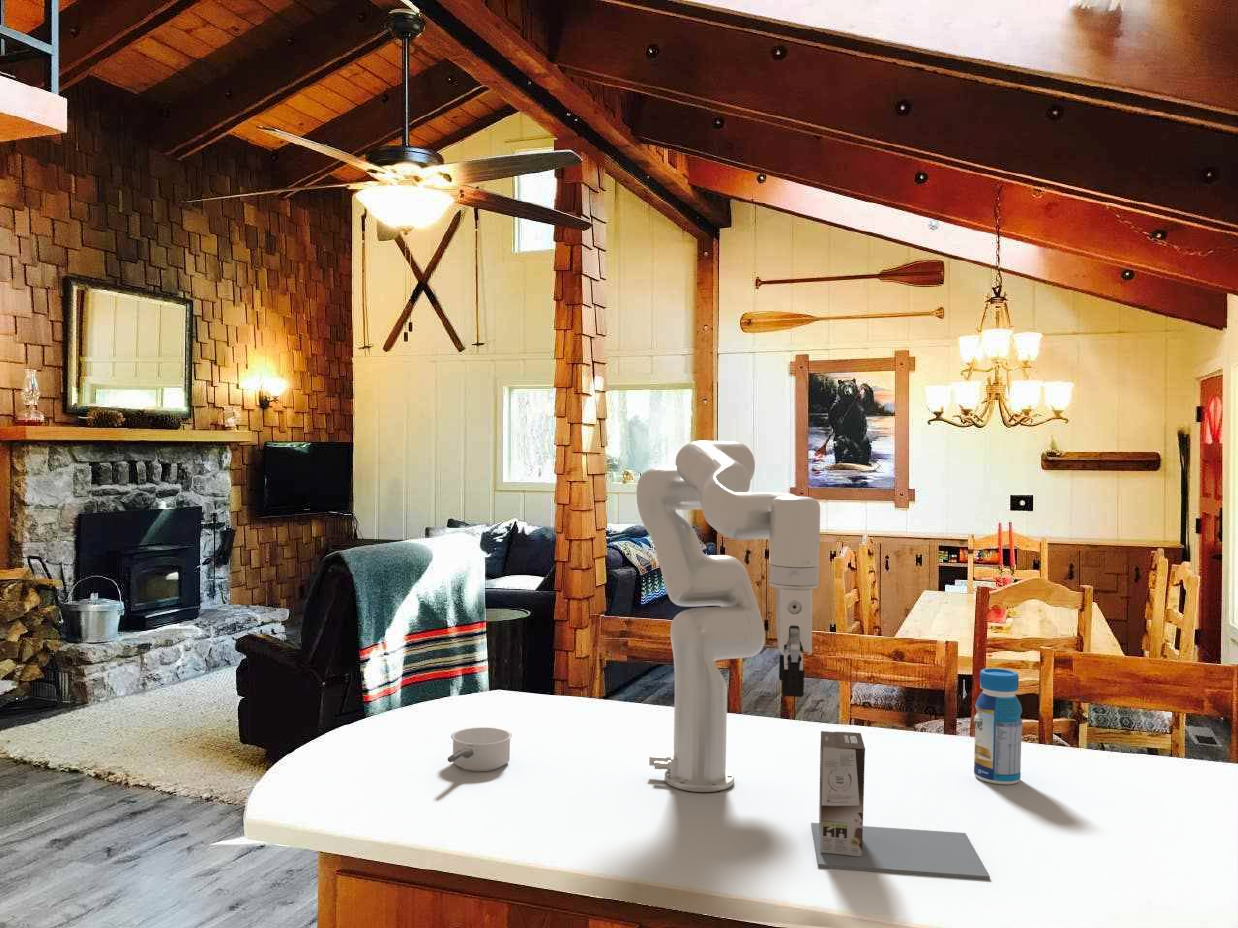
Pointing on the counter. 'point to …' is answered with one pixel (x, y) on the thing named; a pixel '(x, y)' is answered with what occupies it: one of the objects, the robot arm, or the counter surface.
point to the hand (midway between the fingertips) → (790, 687)
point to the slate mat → (908, 853)
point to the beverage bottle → (998, 728)
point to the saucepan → (480, 748)
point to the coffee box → (841, 793)
